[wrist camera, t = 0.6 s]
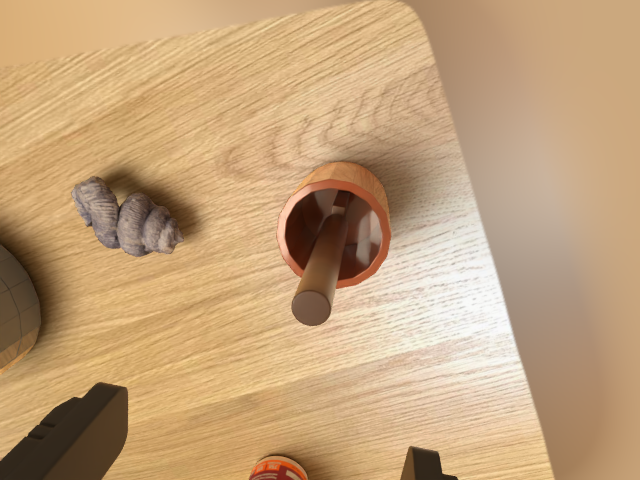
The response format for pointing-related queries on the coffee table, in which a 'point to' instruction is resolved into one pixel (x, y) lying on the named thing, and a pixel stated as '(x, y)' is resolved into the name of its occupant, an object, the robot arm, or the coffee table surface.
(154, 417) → the coffee table surface
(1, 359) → the bowl
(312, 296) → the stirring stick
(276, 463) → the pill bottle
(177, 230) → the seashell
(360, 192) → the crock
